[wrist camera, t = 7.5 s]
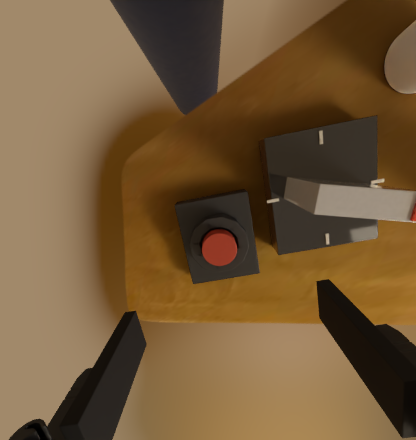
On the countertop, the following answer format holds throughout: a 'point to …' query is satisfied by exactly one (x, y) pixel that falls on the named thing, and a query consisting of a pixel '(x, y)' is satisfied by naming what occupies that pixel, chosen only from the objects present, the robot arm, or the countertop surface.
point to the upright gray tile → (352, 199)
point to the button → (219, 247)
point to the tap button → (218, 219)
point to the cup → (402, 62)
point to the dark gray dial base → (323, 170)
